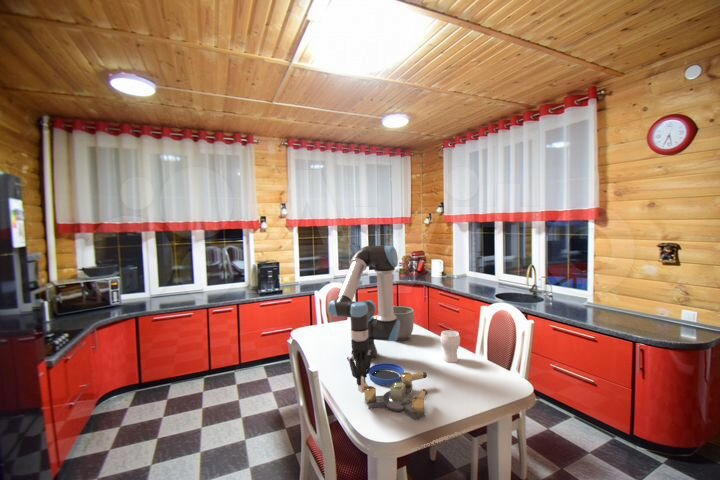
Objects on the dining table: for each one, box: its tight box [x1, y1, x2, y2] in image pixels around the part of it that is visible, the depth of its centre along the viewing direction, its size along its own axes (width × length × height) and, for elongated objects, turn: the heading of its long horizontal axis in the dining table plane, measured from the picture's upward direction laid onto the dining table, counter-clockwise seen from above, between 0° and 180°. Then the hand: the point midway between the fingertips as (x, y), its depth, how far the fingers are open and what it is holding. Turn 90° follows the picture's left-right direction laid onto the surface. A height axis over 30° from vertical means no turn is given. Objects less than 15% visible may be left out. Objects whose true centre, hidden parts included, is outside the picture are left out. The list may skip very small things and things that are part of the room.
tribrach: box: [367, 382, 426, 421], centre depth 136 cm, size 25×22×9 cm
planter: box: [393, 305, 415, 341], centre depth 211 cm, size 20×20×19 cm
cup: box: [439, 330, 461, 364], centre depth 176 cm, size 11×11×15 cm
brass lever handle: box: [412, 388, 428, 414], centre depth 128 cm, size 13×5×4 cm, turn 154°
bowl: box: [368, 362, 405, 386], centre depth 158 cm, size 18×18×4 cm
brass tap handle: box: [400, 371, 428, 387], centre depth 147 cm, size 13×5×4 cm, turn 109°
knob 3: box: [363, 381, 377, 403], centre depth 137 cm, size 13×5×4 cm, turn 19°
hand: (361, 391), depth 138 cm, fingers closed
